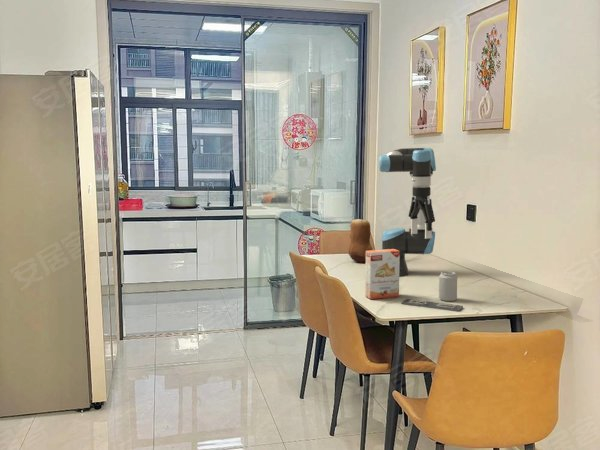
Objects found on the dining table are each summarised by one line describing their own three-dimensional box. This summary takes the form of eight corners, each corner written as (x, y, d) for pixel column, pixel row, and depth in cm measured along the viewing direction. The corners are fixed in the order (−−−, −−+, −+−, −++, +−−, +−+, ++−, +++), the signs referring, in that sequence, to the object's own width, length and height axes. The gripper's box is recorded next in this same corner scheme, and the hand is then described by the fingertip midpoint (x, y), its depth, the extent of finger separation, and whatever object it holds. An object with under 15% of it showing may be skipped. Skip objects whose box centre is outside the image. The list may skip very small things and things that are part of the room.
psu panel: (406, 300, 239) (407, 298, 239) (463, 307, 226) (463, 305, 226) (401, 303, 234) (401, 301, 234) (458, 311, 221) (458, 309, 221)
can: (458, 298, 240) (459, 271, 238) (454, 303, 234) (454, 275, 232) (441, 296, 244) (442, 269, 242) (436, 300, 237) (436, 273, 236)
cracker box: (370, 300, 241) (370, 252, 238) (365, 296, 247) (364, 250, 244) (400, 297, 245) (400, 250, 242) (393, 293, 251) (394, 248, 248)
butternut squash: (372, 259, 327) (372, 217, 324) (373, 264, 314) (372, 220, 311) (348, 259, 329) (348, 217, 325) (348, 264, 316) (347, 220, 312)
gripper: (401, 185, 248) (401, 232, 250) (426, 188, 224) (426, 240, 226) (416, 184, 249) (416, 231, 252) (443, 188, 225) (443, 239, 228)
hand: (421, 236), depth 239 cm, fingers open, 13 cm apart
